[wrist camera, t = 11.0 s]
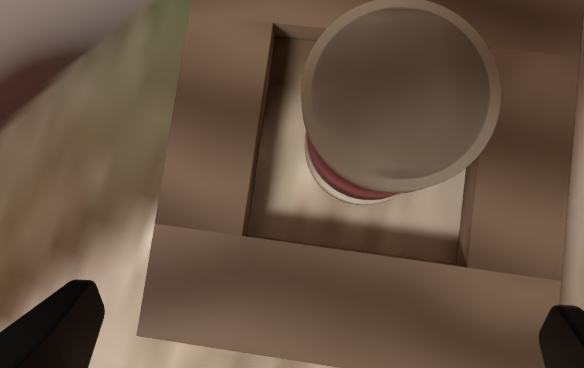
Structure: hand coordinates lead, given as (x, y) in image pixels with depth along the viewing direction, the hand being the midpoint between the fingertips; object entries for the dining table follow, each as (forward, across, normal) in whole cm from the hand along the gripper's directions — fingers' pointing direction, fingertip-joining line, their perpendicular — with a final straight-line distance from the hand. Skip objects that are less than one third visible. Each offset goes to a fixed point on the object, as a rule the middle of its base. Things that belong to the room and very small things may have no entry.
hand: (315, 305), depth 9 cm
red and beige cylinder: (+13, -2, +4) cm, 14 cm away
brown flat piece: (+13, -2, +4) cm, 14 cm away
